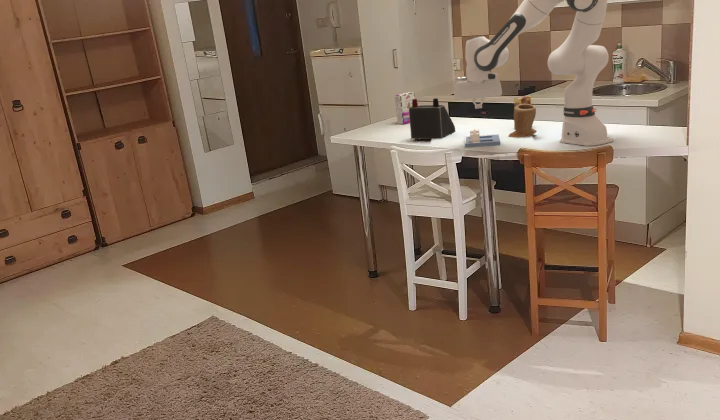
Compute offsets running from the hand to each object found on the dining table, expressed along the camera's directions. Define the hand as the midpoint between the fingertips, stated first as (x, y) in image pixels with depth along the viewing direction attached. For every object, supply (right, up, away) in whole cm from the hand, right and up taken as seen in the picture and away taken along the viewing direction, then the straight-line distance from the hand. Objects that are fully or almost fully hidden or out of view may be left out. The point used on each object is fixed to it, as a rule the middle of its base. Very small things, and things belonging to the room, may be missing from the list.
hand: (478, 108), depth 283 cm
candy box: (+28, -4, +37) cm, 47 cm away
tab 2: (-1, -15, +4) cm, 16 cm away
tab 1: (+1, -13, +12) cm, 18 cm away
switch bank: (+3, -15, +8) cm, 18 cm away
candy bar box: (-24, +5, +87) cm, 91 cm away
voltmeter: (-15, -9, +37) cm, 41 cm away
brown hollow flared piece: (+24, -11, +17) cm, 31 cm away
